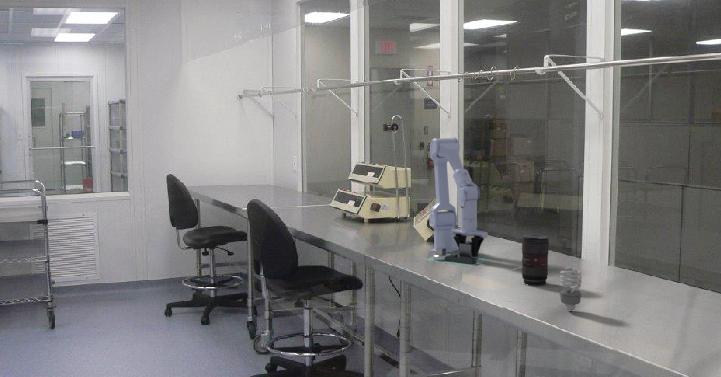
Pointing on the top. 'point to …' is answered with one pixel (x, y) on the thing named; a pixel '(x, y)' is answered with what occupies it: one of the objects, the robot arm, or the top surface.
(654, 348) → the top surface
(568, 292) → the light bulb
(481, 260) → the mat
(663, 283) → the top surface
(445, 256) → the metal vise
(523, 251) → the camera lens
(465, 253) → the socket
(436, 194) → the robot arm
